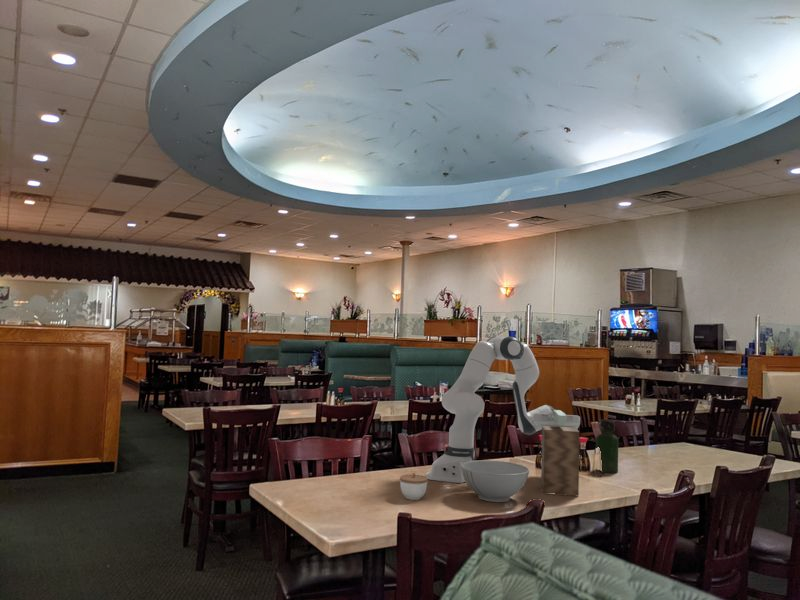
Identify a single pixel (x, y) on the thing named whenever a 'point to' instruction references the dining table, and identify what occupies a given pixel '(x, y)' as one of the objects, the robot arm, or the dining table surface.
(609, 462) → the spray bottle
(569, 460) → the wood grain block
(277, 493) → the dining table surface
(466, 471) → the decorative bowl
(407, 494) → the lidded jar
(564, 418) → the sage block
